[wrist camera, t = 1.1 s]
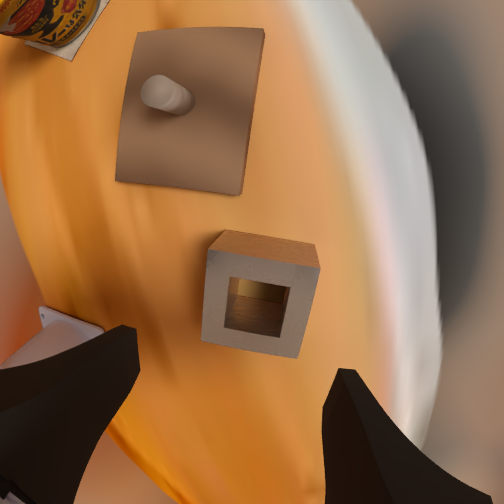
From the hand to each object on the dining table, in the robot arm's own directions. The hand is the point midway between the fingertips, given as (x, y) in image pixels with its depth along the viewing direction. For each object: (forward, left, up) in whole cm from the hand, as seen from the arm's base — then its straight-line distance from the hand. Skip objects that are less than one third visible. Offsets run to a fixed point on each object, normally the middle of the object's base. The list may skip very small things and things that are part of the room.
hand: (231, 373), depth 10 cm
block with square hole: (0, 0, -9) cm, 9 cm away
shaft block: (+10, +6, -9) cm, 15 cm away
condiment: (+19, +19, -10) cm, 28 cm away
